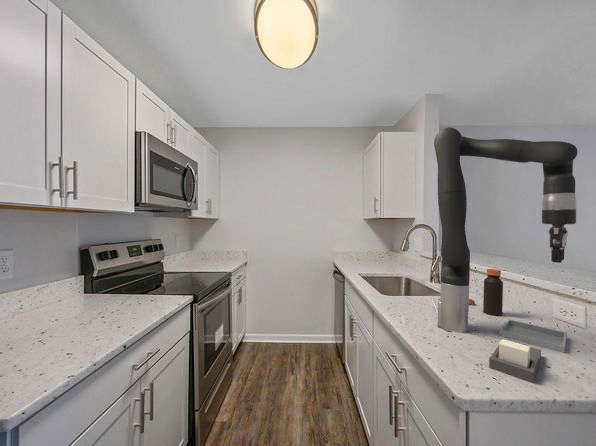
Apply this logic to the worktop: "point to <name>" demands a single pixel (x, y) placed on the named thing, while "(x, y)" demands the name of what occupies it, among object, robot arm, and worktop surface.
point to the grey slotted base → (516, 369)
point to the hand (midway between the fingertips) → (557, 261)
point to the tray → (534, 335)
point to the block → (514, 353)
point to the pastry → (471, 302)
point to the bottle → (493, 293)
